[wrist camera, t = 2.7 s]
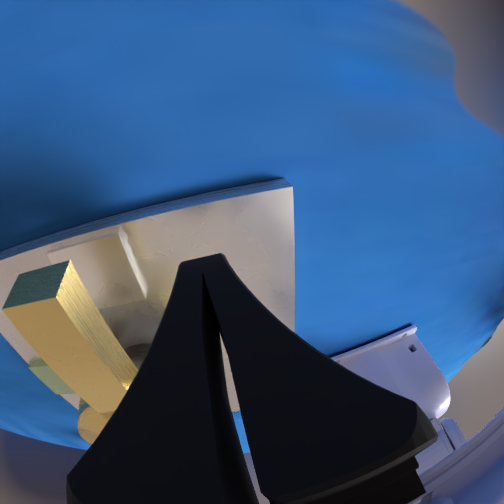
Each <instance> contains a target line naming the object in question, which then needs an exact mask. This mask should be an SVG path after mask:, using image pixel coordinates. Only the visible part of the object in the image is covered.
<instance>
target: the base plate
mask: <svg viewBox="0 0 504 504" xmlns="http://www.w3.org/2000/svg"><path fill="white" fill-rule="evenodd" d="M218 253H222V254H224V255H225V257H226V259H227V261H228V262H229V264H230V265H231V267H232V268H233V270H234V271H235V273H236V274H237V275H238V277H239V278H240V279H241V280H242V282H243V283H244V284H245V285H246V286H247V288H248V289H249V290H250V291H251V292H252V293H253V294H254V295H255V297H256V298H257V299H258V300H259V301H260V302H261V303H262V304H263V305H264V306H265V307H266V308H267V309H268V310H269V311H270V312H271V313H272V314H273V315H274V316H275V317H277V318H278V319H279V320H280V321H281V322H282V323H283V324H284V325H286V326H287V327H288V328H289V329H290V330H292V331H293V332H294V333H295V250H294V207H293V186H292V185H291V184H290V183H289V182H288V181H287V180H286V179H285V178H282V179H276V180H270V181H265V182H259V183H253V184H248V185H243V186H238V187H232V188H227V189H222V190H218V191H213V192H208V193H203V194H199V195H194V196H190V197H185V198H181V199H176V200H172V201H168V202H164V203H160V204H155V205H151V206H147V207H143V208H140V209H136V210H132V211H128V212H124V213H120V214H117V215H113V216H109V217H106V218H102V219H99V220H95V221H92V222H88V223H85V224H82V225H78V226H75V227H72V228H68V229H65V230H62V231H59V232H56V233H53V234H49V235H46V236H43V237H40V238H37V239H34V240H31V241H29V242H26V243H23V244H20V245H17V246H14V247H12V248H9V249H6V250H3V251H1V252H0V332H1V334H2V335H3V336H4V337H5V339H6V340H7V341H8V342H9V343H10V344H11V346H12V347H13V348H14V349H15V350H16V351H17V352H18V353H19V355H20V356H21V357H22V358H23V359H24V360H25V361H26V362H27V363H28V364H29V366H28V368H29V369H30V370H31V371H32V372H33V373H34V374H35V375H36V376H37V377H38V378H39V379H40V380H41V381H42V382H43V383H44V384H45V385H46V386H48V387H49V388H50V389H51V390H52V391H53V392H54V393H55V394H56V395H58V394H60V395H61V396H62V397H63V398H64V399H66V400H67V401H68V402H69V403H70V404H72V405H73V406H74V407H75V408H76V409H78V410H79V401H80V396H79V395H78V394H77V393H76V392H75V391H74V390H72V389H71V388H70V387H69V386H68V385H67V384H66V383H65V382H64V381H63V380H62V379H61V378H60V377H59V376H58V375H57V374H56V373H55V372H54V371H53V370H52V369H51V368H50V367H49V366H48V365H47V364H46V362H45V361H44V360H43V359H42V358H41V357H40V356H39V355H38V354H37V353H36V351H35V350H34V349H33V348H32V347H31V346H30V344H29V343H28V342H27V341H26V340H25V339H24V337H23V336H22V335H21V334H20V332H19V331H18V330H17V329H16V327H15V326H14V325H13V323H12V322H11V321H10V320H9V318H8V317H7V316H6V314H5V313H4V311H3V310H2V308H3V306H4V304H5V301H6V299H7V297H8V295H9V293H10V291H11V289H12V287H13V285H14V283H15V281H16V279H17V277H18V275H19V274H22V273H25V272H29V271H32V270H36V269H39V268H43V267H46V266H50V265H53V264H57V263H61V262H64V261H68V260H71V262H72V264H73V266H74V268H75V270H76V272H77V274H78V276H79V277H80V279H81V281H82V283H83V285H84V287H85V288H86V290H87V292H88V294H89V295H90V297H91V299H92V301H93V302H94V304H95V306H96V307H97V309H98V311H99V312H100V314H101V315H102V317H103V319H104V320H105V322H106V323H107V325H108V327H109V328H110V330H111V331H112V333H113V334H114V336H115V337H116V339H117V340H118V342H119V343H120V345H121V346H122V348H123V349H124V350H125V352H126V353H127V355H128V356H129V358H130V359H131V360H132V362H133V363H134V364H135V366H136V367H137V369H138V370H139V368H140V366H141V364H142V362H143V360H144V358H145V356H146V354H147V352H148V350H149V348H150V345H151V343H152V341H153V338H154V336H155V334H156V331H157V329H158V326H159V324H160V322H161V319H162V317H163V314H164V311H165V308H166V306H167V303H168V300H169V297H170V294H171V291H172V288H173V285H174V281H175V278H176V274H177V270H178V266H179V264H180V263H181V262H183V261H187V260H191V259H196V258H200V257H205V256H209V255H213V254H218ZM220 339H221V347H222V354H223V362H224V370H225V377H226V385H227V392H228V397H229V402H230V407H231V411H232V412H235V411H240V407H239V403H238V398H237V394H236V390H235V385H234V381H233V377H232V372H231V368H230V363H229V359H228V355H227V352H226V349H225V346H224V344H223V341H222V338H221V335H220Z"/></svg>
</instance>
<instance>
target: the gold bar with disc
mask: <svg viewBox="0 0 504 504" xmlns="http://www.w3.org/2000/svg"><path fill="white" fill-rule="evenodd" d="M2 310H3V311H4V313H5V314H6V316H7V317H8V318H9V320H10V321H11V322H12V323H13V325H14V326H15V327H16V329H17V330H18V331H19V332H20V334H21V335H22V336H23V337H24V339H25V340H26V341H27V342H28V343H29V344H30V346H31V347H32V348H33V349H34V350H35V351H36V353H37V354H38V355H39V356H40V357H41V358H42V359H43V360H44V361H45V362H46V364H47V365H48V366H49V367H50V368H51V369H52V370H53V371H54V372H55V373H56V374H57V375H58V376H59V377H60V378H61V379H62V380H63V381H64V382H65V383H66V384H67V385H68V386H69V387H70V388H71V389H72V390H74V391H75V392H76V393H77V394H78V395H79V396H80V401H79V413H78V432H79V434H80V435H81V437H82V438H83V439H84V440H85V441H87V442H88V443H90V444H91V445H92V444H93V442H94V441H95V440H96V438H97V437H98V435H99V434H100V432H101V431H102V429H103V428H104V426H105V425H106V423H107V422H108V420H109V419H110V417H111V416H112V414H113V413H114V411H115V410H116V408H117V407H118V405H119V404H120V402H121V400H122V399H123V397H124V395H125V394H126V392H127V390H128V388H129V386H130V385H131V383H132V381H133V379H134V378H135V376H136V374H137V372H138V369H137V367H136V366H135V364H134V363H133V362H132V360H131V359H130V358H129V356H128V355H127V353H126V352H125V350H124V349H123V348H122V346H121V345H120V343H119V342H118V340H117V339H116V337H115V336H114V334H113V333H112V331H111V330H110V328H109V327H108V325H107V323H106V322H105V320H104V319H103V317H102V315H101V314H100V312H99V311H98V309H97V307H96V306H95V304H94V302H93V301H92V299H91V297H90V295H89V294H88V292H87V290H86V288H85V287H84V285H83V283H82V281H81V279H80V277H79V276H78V274H77V272H76V270H75V268H74V266H73V264H72V262H71V260H68V261H64V262H61V263H57V264H53V265H50V266H46V267H43V268H39V269H36V270H32V271H29V272H25V273H22V274H19V275H18V277H17V279H16V281H15V283H14V285H13V287H12V289H11V291H10V293H9V295H8V297H7V299H6V301H5V304H4V306H3V308H2Z"/></svg>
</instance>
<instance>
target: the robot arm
mask: <svg viewBox="0 0 504 504" xmlns="http://www.w3.org/2000/svg"><path fill="white" fill-rule="evenodd" d="M416 330H417V327H416V326H415V325H412V326H410V327H407V328H405V329H403V330H401V331H398V332H396V333H394V334H391V335H389V336H387V337H384V338H382V339H379V340H377V341H374V342H372V343H369V344H367V345H364V346H362V347H359V348H356V349H354V350H351V351H348V352H345V353H343V354H340V355H337V356H334V357H331V358H329V357H328V356H326V355H324V354H323V353H321V352H320V351H318V350H317V349H315V348H314V347H313V346H311V345H310V344H309V343H307V342H306V341H304V340H303V339H302V338H300V337H299V336H298V335H297V334H295V333H294V332H293V331H292V330H290V329H289V328H288V327H287V326H286V325H284V324H283V323H282V322H281V321H280V320H279V319H278V318H277V317H275V316H274V315H273V314H272V313H271V312H270V311H269V310H268V309H267V308H266V307H265V306H264V305H263V304H262V303H261V302H260V301H259V300H258V299H257V298H256V297H255V295H254V294H253V293H252V292H251V291H250V290H249V289H248V288H247V286H246V285H245V284H244V283H243V282H242V280H241V279H240V278H239V277H238V275H237V274H236V273H235V271H234V270H233V268H232V267H231V265H230V264H229V262H228V261H227V259H226V257H225V255H224V254H222V253H218V254H213V255H209V256H205V257H200V258H196V259H191V260H187V261H183V262H181V263H180V264H179V266H178V270H177V274H176V278H175V281H174V285H173V288H172V291H171V294H170V297H169V300H168V303H167V306H166V308H165V311H164V314H163V317H162V319H161V322H160V324H159V326H158V329H157V331H156V334H155V336H154V338H153V341H152V343H151V345H150V348H149V350H148V352H147V354H146V356H145V358H144V360H143V362H142V364H141V366H140V368H139V370H138V372H137V374H136V376H135V378H134V379H133V381H132V383H131V385H130V386H129V388H128V390H127V392H126V394H125V395H124V397H123V399H122V400H121V402H120V404H119V405H118V407H117V408H116V410H115V411H114V413H113V414H112V416H111V417H110V419H109V420H108V422H107V423H106V425H105V426H104V428H103V429H102V431H101V432H100V434H99V435H98V437H97V438H96V440H95V441H94V442H93V444H92V445H91V446H90V447H89V449H88V450H87V451H86V453H85V454H84V455H83V456H82V458H81V459H80V460H79V461H78V463H77V464H76V465H75V466H74V468H73V469H72V470H71V471H70V473H69V474H68V475H67V483H66V484H67V485H66V494H67V504H259V502H258V499H257V496H256V493H255V490H254V487H253V484H252V481H251V478H250V475H249V472H248V468H247V465H246V461H245V458H244V455H243V451H242V448H241V444H240V441H239V437H238V434H237V430H236V426H235V423H234V419H233V415H232V411H231V407H230V402H229V397H228V392H227V385H226V377H225V370H224V362H223V354H222V347H221V339H220V335H221V338H222V341H223V344H224V346H225V349H226V352H227V355H228V359H229V363H230V368H231V372H232V377H233V381H234V385H235V390H236V394H237V398H238V403H239V407H240V411H241V415H242V420H243V424H244V428H245V432H246V436H247V440H248V444H249V448H250V452H251V456H252V460H253V464H254V468H255V472H256V475H257V479H258V483H259V487H260V491H261V493H262V494H263V495H264V496H265V497H267V499H268V500H269V502H270V504H504V407H503V409H501V410H500V411H499V412H498V413H497V414H496V415H495V418H494V419H493V420H492V421H491V422H490V423H488V424H487V425H486V426H485V427H484V428H483V429H482V430H480V431H479V432H478V433H477V434H476V435H474V436H473V437H472V438H471V439H469V440H468V441H467V440H466V438H465V436H464V435H463V433H462V431H461V430H460V428H459V426H458V425H457V424H456V422H455V421H454V420H453V419H447V418H443V419H442V420H440V423H441V425H442V426H443V428H444V431H445V433H444V431H443V430H442V428H441V426H440V424H439V422H438V421H437V418H439V417H440V416H442V415H443V414H444V413H445V412H446V410H447V408H448V406H449V403H450V390H449V386H448V383H447V381H446V379H445V377H444V375H443V374H442V372H441V371H440V369H439V368H438V366H437V365H436V363H435V362H434V360H433V359H432V357H431V356H430V354H429V353H428V351H427V350H426V349H425V347H424V346H423V344H422V343H421V342H420V340H419V339H418V337H417V336H416V335H415V332H416ZM445 434H446V435H447V437H448V438H447V437H446V435H445ZM448 439H449V440H448Z"/></svg>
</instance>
